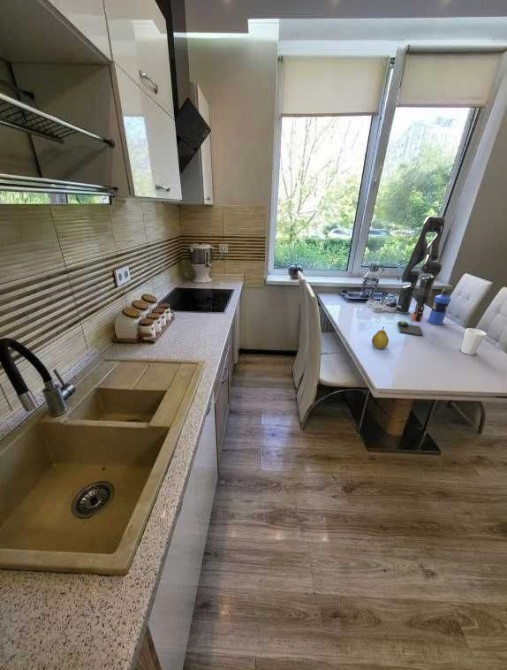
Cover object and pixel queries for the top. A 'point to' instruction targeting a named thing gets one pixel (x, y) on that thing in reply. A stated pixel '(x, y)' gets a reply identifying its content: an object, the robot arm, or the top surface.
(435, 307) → the water bottle
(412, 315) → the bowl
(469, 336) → the foam cup
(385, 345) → the fruit
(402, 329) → the scale
